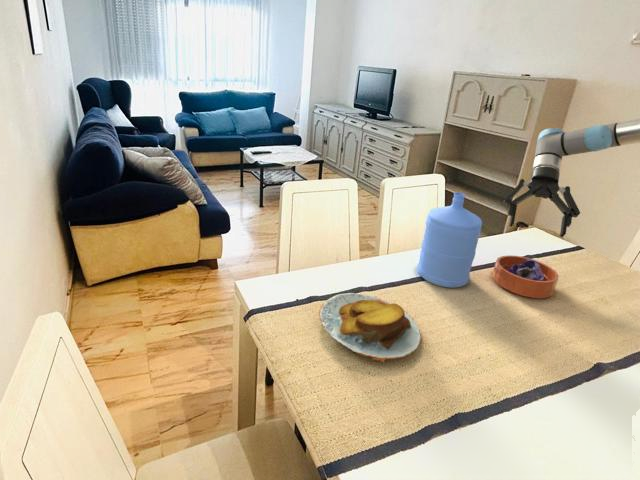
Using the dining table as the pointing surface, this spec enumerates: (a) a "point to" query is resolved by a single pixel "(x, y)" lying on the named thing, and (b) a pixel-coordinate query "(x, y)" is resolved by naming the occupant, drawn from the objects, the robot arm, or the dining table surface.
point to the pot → (522, 284)
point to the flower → (528, 270)
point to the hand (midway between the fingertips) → (536, 229)
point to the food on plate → (370, 326)
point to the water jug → (449, 244)
